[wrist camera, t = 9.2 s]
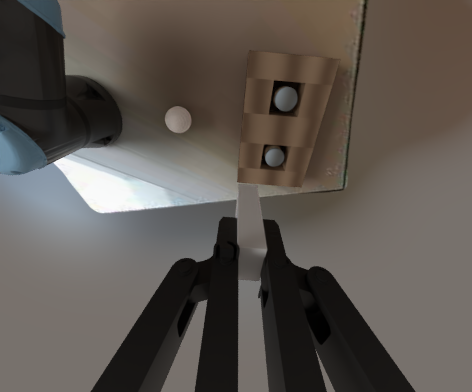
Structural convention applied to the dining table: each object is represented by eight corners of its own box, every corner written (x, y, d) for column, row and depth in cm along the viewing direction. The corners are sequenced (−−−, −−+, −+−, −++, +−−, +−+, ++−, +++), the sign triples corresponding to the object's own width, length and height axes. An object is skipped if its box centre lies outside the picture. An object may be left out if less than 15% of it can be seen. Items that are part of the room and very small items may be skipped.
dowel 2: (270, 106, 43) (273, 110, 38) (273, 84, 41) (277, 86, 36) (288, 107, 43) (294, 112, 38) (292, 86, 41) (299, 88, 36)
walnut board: (237, 171, 52) (237, 182, 47) (248, 53, 38) (249, 50, 33) (295, 176, 52) (301, 187, 47) (327, 61, 38) (340, 59, 33)
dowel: (262, 156, 49) (264, 165, 44) (264, 140, 47) (267, 148, 42) (278, 158, 49) (282, 167, 45) (281, 142, 47) (285, 149, 42)
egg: (191, 131, 46) (184, 140, 40) (169, 124, 46) (158, 132, 39) (196, 108, 44) (188, 114, 37) (173, 100, 43) (160, 105, 36)
